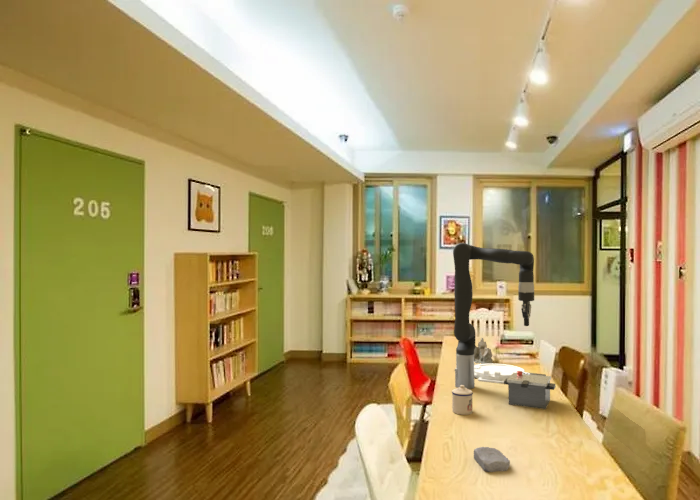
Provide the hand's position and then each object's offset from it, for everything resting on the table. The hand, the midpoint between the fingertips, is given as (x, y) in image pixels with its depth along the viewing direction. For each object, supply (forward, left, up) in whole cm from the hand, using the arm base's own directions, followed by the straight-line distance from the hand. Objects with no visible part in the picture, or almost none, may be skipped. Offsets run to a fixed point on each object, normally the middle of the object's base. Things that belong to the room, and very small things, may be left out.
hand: (526, 325), depth 246 cm
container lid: (-21, +31, -34) cm, 51 cm away
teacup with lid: (-21, -42, -34) cm, 58 cm away
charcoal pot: (+3, -15, -34) cm, 37 cm away
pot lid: (+3, -18, -23) cm, 30 cm away
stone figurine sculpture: (-40, +63, -34) cm, 82 cm away
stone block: (+4, -93, -34) cm, 99 cm away
